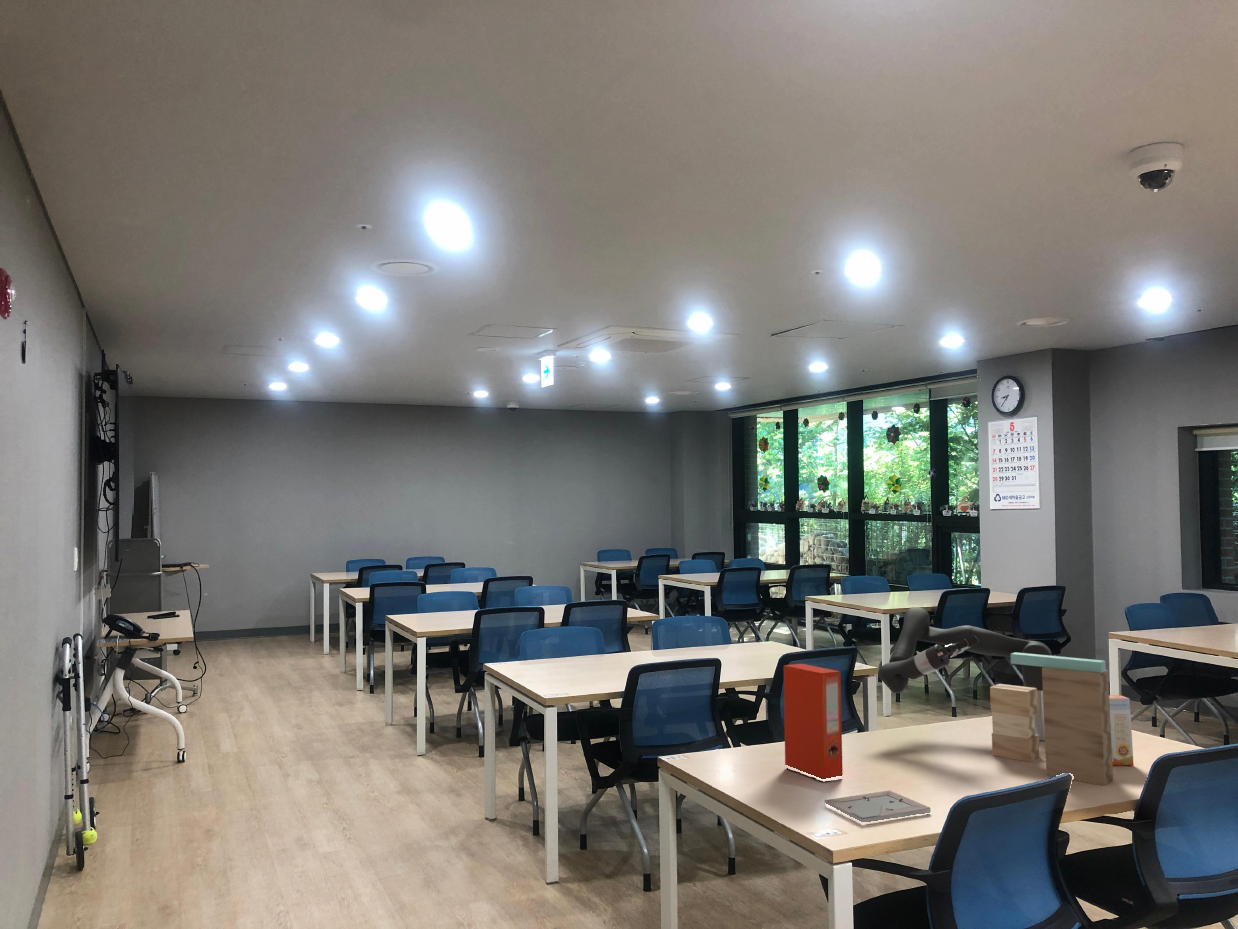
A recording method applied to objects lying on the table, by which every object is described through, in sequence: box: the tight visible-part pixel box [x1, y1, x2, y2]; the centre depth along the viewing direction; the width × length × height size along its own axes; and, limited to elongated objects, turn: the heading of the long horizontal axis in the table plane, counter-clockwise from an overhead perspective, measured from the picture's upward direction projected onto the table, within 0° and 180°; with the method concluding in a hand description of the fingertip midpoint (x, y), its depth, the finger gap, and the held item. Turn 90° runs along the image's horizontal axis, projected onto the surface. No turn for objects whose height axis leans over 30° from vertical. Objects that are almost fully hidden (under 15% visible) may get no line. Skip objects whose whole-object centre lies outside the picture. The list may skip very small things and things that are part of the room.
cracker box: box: [1109, 694, 1134, 766], centre depth 278 cm, size 14×6×21 cm, turn 84°
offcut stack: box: [989, 683, 1041, 763], centre depth 288 cm, size 8×12×22 cm
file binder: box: [783, 663, 844, 779], centre depth 271 cm, size 8×17×32 cm, turn 29°
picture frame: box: [824, 790, 932, 822], centre depth 235 cm, size 16×2×22 cm
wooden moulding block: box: [1042, 667, 1114, 787], centre depth 264 cm, size 8×16×32 cm, turn 45°
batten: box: [1010, 652, 1107, 673], centre depth 269 cm, size 4×26×3 cm, turn 45°
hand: (972, 640), depth 293 cm, fingers open, 8 cm apart
